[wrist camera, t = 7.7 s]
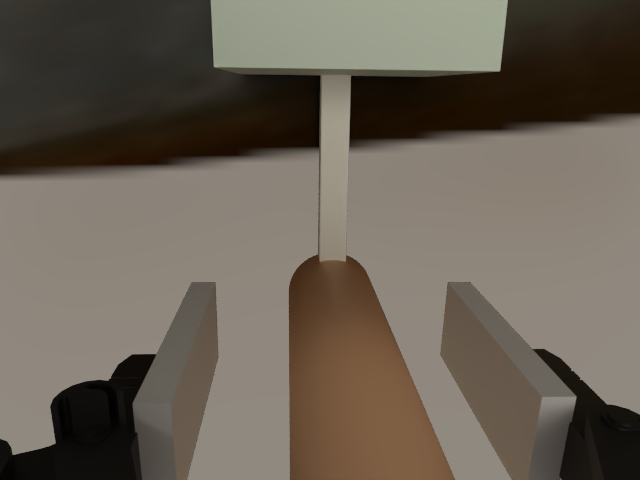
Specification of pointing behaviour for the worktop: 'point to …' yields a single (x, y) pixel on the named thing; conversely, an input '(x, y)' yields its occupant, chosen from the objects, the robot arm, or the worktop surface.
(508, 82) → the worktop surface
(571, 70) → the worktop surface
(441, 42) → the block with rod
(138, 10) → the worktop surface
